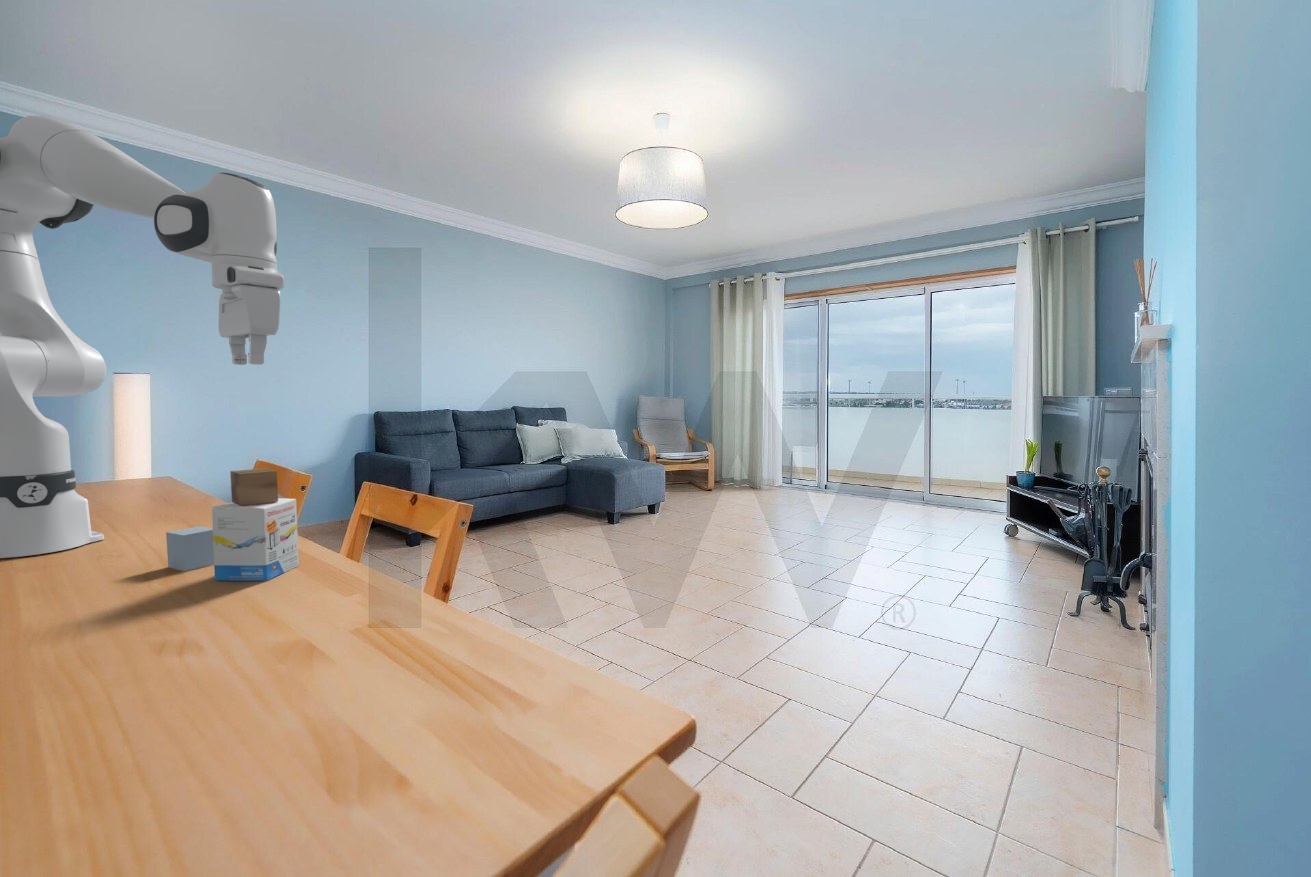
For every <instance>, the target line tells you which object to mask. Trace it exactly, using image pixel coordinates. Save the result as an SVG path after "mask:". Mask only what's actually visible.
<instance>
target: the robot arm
mask: <svg viewBox="0 0 1311 877" xmlns="http://www.w3.org/2000/svg"><path fill="white" fill-rule="evenodd" d="M274 202H275V201H274V198H273V195H272V192H271V191H270V189H269V188H267V187H266V185H264V184H262V183H260V182H258V181H256V180H253V179H250V178H248V177H244V176H242V175H238V174H234V173H229V172H216V173H214V174H213V175H212V176H211V178H210V180H208V182H207V183H206V184H205V185H204V186H201V187H199V188H197V189H195V190H193V191H190V192H187V191H186V190H184V189H182V188H180V187H178V186H176V185H175V184H173V183H172V182H170V181H169V180H167V179H165V178H164V177H163V176H161V175H159V174H158V173H156V172H154V171H153V170H151V169H150V168H148V167H146V166H145V165H143V164H142V163H140V162H139V161H137V160H136V159H134V158H133V157H131V156H130V155H128V154H127V153H125V152H124V151H122V150H120V149H119V148H117V147H116V146H115V145H113V144H111V143H110V142H108V141H106V140H105V139H102V138H101V137H99V136H97V135H95V134H93V133H91V132H89V131H88V130H85V129H83V128H81V127H79V126H76V125H74V124H71V123H69V122H66V121H63V120H59V119H57V118H52V117H49V116H45V115H44V116H43V115H29V116H25V117H22V118H20V119H17V121H16V122H14V124H13V125H12V126H11V128H10V130H9V132H8V135H6V136H4V137H0V559H6V558H19V557H26V556H27V557H28V556H35V555H42V554H48V553H55V552H59V551H65V550H66V551H67V550H70V549H73V548H76V547H80V546H81V547H82V546H84V545H87V544H90V543H94V542H98V541H103V540H105V536H104V533H101V532H98V531H94V530H92V527H91V519H90V510H89V501H88V498H85V497H84V496H82V495H80V494H79V493H78V492H77V491H76V490H75V489H76V488H77V483H76V481H77V476H76V475H75V474H76V473H75V470H74V469H72V462H71V448H70V446H71V445H70V435H69V432H68V430H67V428H66V427H65V426H63V425H62V424H61V423H59V422H57V421H55V420H53V419H51V418H48V417H45V416H44V415H43V414H42V412H40V410H39V409H38V407H37V406H36V404H35V401H34V398H33V397H35V398H37V397H38V398H42V397H43V398H45V397H47V398H48V397H52V398H54V397H58V398H59V397H60V398H61V397H73V396H77V395H82V394H83V395H84V394H87V393H91V392H94V391H96V390H98V389H99V388H100V387H101V386H102V385H103V383H104V382H105V379H106V376H107V371H108V370H107V365H106V361H105V359H104V357H103V356H102V354H101V353H100V351H98V350H97V349H96V348H95V347H93V346H91V345H90V344H88V343H86V342H85V341H83V340H82V339H81V338H80V337H78V336H77V335H76V334H75V333H74V331H72V329H70V328H69V327H68V325H67V324H66V323H65V322H64V320H63V319H62V318H61V317H60V315H59V313H58V312H57V311H56V309H55V307H54V305H53V303H52V301H51V299H50V295H49V293H48V290H47V286H46V283H45V280H44V279H45V278H44V275H43V272H42V268H41V264H40V259H39V256H38V253H37V252H38V251H37V249H36V245H35V242H34V235H33V234H34V233H33V232H34V230H35V228H36V226H37V225H38V224H39V223H40V224H41V225H42V226H43V227H46V228H48V229H50V230H53V229H58V228H60V227H61V226H62V225H63V224H69V223H73V222H77V221H79V220H81V219H83V218H84V217H86V216H87V215H88V214H90V212H91V211H92V209H93V208H94V206H98V207H100V208H105V209H110V210H114V211H117V212H121V213H126V214H131V215H135V216H138V217H139V216H140V217H144V218H149V219H153V225H154V231H155V234H156V236H157V238H158V240H159V241H160V242H161V244H162V245H163V246H164V247H165V248H166V249H167V250H168V251H171V252H173V253H176V254H178V255H181V256H184V257H187V258H192V259H197V260H201V261H204V262H209V263H211V284H212V287H213V288H215V289H219V290H221V292H222V293H221V294H220V295H219V300H218V301H219V302H218V333H219V336H220V338H227V339H228V344H229V349H230V352H231V361H232V364H233V365H237V366H244V365H246V364H250V365H260V366H261V365H263V364H264V363H265V351H266V348H267V340H268V338H267V336H275V335H276V334H277V333H278V331H279V327H280V321H281V304H282V303H281V301H282V299H281V291H280V290H283V289H284V288H285V278H284V275H283V274H282V273H280V272H279V270H278V260H277V258H276V256H277V250H278V243H277V237H278V236H277V234H278V232H277V230H278V229H277V214H276V206H275V203H274ZM246 339H248V342H249V352H248V354H246V345H247V343H246V342H247V340H246Z"/></svg>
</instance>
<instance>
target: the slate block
mask: <svg viewBox="0 0 1311 877" xmlns="http://www.w3.org/2000/svg"><path fill="white" fill-rule="evenodd" d="M166 550H167V551H166V552H167V554H166V555H167V568H170V569H174V570H178V571H181V572H187V571H192V570H197V569H201V568H205V567H209V566H214V546H213V527H207V526H201V525H198V526H193V527H188V528H181V529H177V530H171V531H166Z"/></svg>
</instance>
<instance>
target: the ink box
mask: <svg viewBox="0 0 1311 877" xmlns="http://www.w3.org/2000/svg"><path fill="white" fill-rule="evenodd" d="M211 511H212V512H211V514H212V517H211V519H212V528H213V546H214V565H213V566H214V568H213V569H214V570H213V571H214V581H216V582H218V581H222V582H223V581H224V582H225V581H227V582H228V581H232V582H233V581H235V582H236V581H239V582H241V581H243V582H268V581H270V580H272V579H274V578H277V577H278V576H280V575H283V574H285V573H287V572H289V571H291V570H293V569H296V568H297V567H299V566H300V560H299V559H300V557H299V539H298V538H299V535H298V515H297V514H298V512H297V499H296V498H287V497H286V498H283V497H282V498H280V497H278V502H271V503H263V504H254V505H246V506H240V505H238V504H235V503H233V502H229V503H225V504H220V505H216V506H212V510H211Z"/></svg>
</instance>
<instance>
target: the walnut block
mask: <svg viewBox="0 0 1311 877" xmlns="http://www.w3.org/2000/svg"><path fill="white" fill-rule="evenodd" d="M278 489H279V488H278V471H277V470H275V469H272V468H266V467H265V468H263V467H262V468H254V469H253V468H252V469H240V470H230V492H231V503H235V504H238V505H240V506H246V505H254V504H263V503H271V502H278V498H279V494H278V493H279V492H278Z"/></svg>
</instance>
